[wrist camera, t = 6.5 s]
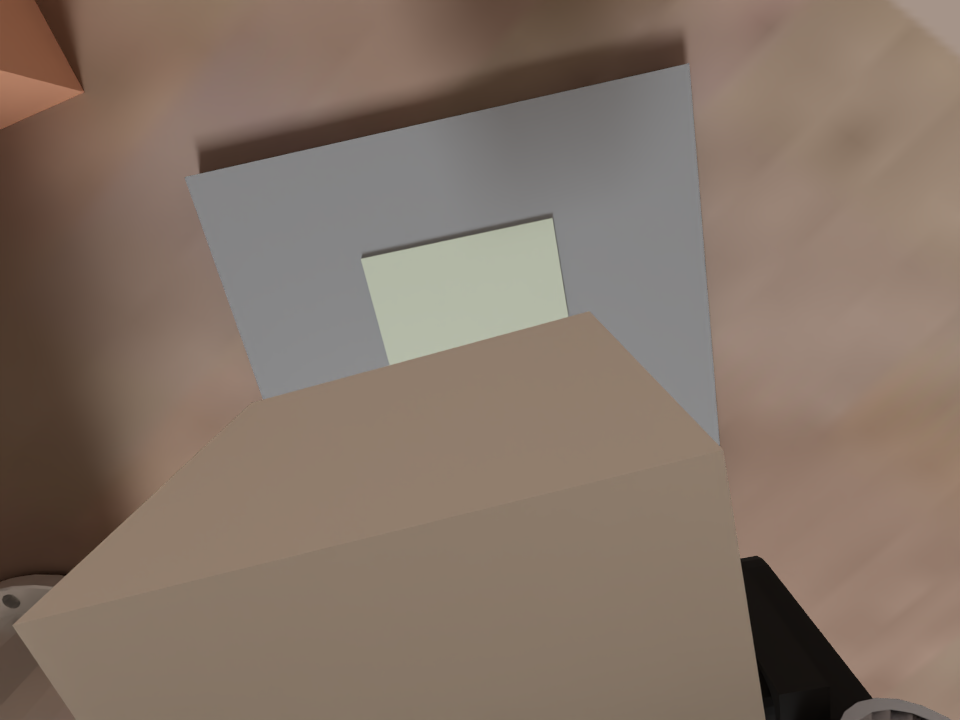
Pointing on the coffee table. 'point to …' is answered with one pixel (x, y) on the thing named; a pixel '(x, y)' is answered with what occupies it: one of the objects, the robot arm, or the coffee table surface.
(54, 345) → the coffee table surface
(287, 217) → the build board
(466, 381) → the cream block
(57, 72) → the terracotta block
